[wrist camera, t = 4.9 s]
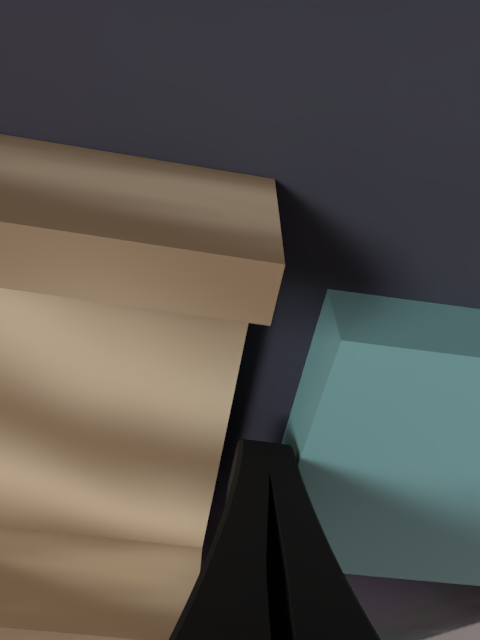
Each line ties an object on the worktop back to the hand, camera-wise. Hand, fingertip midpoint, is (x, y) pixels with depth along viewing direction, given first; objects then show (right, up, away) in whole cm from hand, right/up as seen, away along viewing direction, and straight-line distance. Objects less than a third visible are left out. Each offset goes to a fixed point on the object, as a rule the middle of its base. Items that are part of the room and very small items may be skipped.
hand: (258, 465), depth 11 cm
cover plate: (+5, +1, +2) cm, 5 cm away
